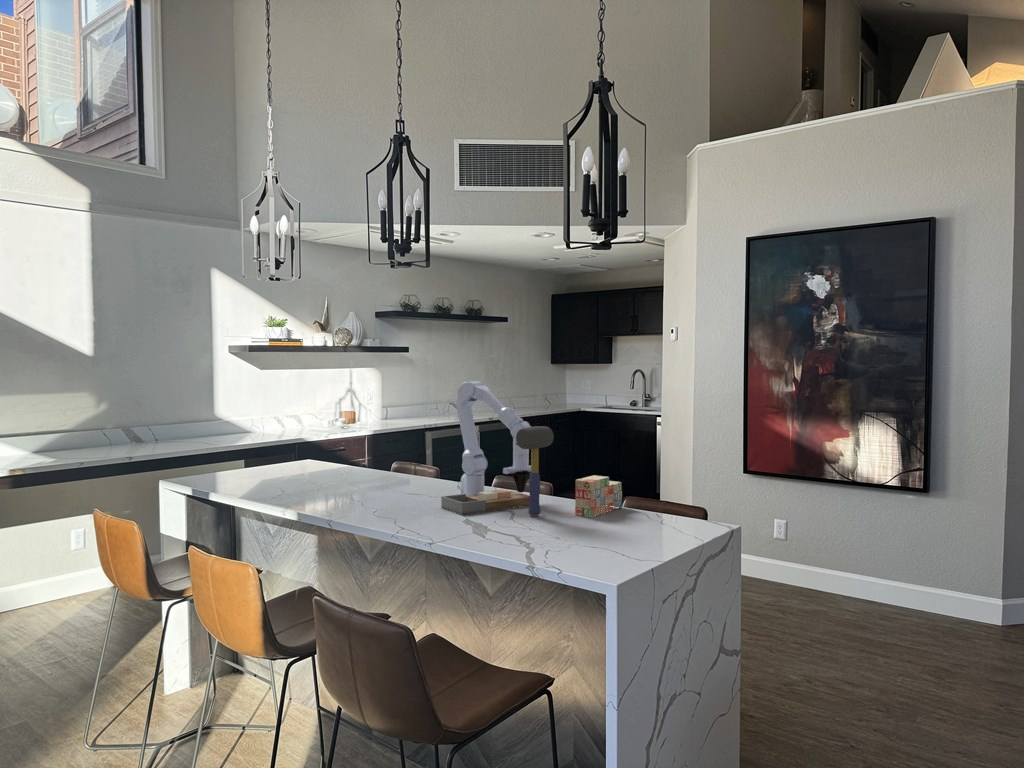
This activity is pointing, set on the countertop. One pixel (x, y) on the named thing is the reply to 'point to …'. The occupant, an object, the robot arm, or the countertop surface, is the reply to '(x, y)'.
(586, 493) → the stack of blocks
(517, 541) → the countertop surface
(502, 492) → the tile back
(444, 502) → the bin
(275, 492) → the countertop surface
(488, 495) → the tile front
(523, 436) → the rubber mallet
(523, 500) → the wooden serving tray
